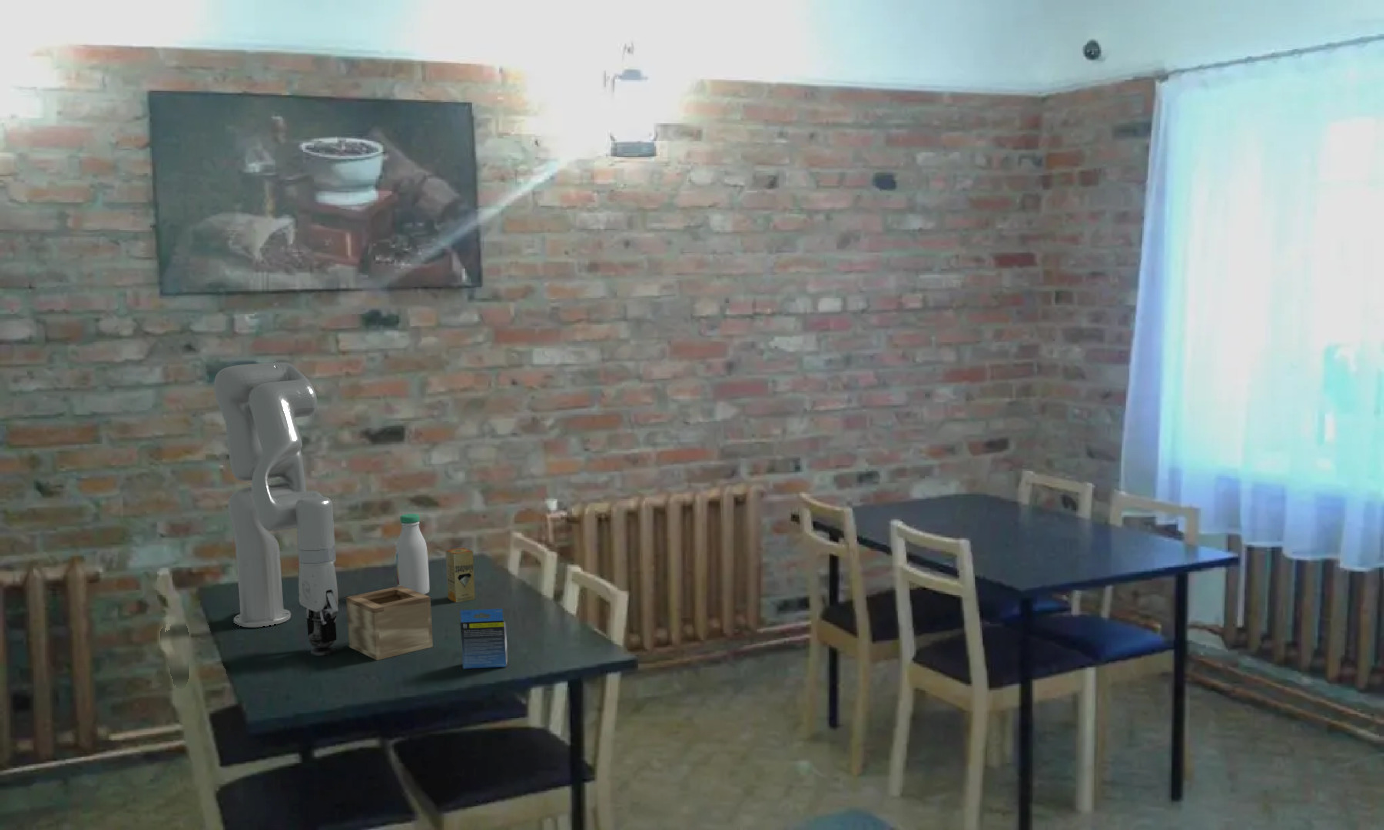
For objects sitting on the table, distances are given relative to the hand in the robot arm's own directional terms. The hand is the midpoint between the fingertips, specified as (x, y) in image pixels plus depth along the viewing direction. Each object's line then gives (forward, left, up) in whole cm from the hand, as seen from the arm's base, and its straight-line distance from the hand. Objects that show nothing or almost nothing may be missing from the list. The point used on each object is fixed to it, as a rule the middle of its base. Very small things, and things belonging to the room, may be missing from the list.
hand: (322, 637), depth 265 cm
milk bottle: (-29, +37, -3) cm, 47 cm away
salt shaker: (0, 0, -3) cm, 3 cm away
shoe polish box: (-16, +43, -3) cm, 46 cm away
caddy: (+7, +12, -3) cm, 14 cm away
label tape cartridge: (+33, +20, -3) cm, 39 cm away
